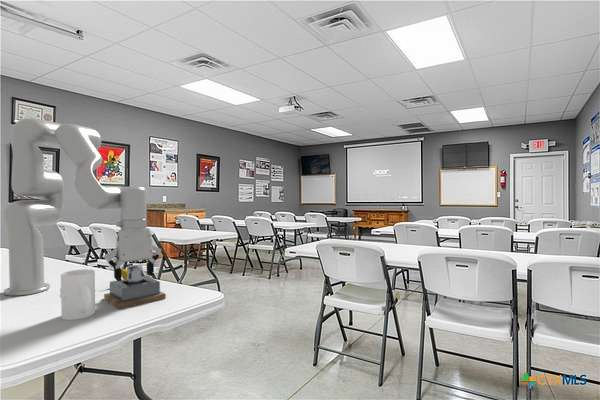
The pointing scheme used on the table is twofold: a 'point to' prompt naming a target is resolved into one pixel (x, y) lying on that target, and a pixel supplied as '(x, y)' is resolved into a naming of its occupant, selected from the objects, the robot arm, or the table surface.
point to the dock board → (134, 302)
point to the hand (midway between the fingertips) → (134, 277)
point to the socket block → (134, 289)
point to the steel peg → (134, 274)
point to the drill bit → (124, 273)
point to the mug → (77, 294)
